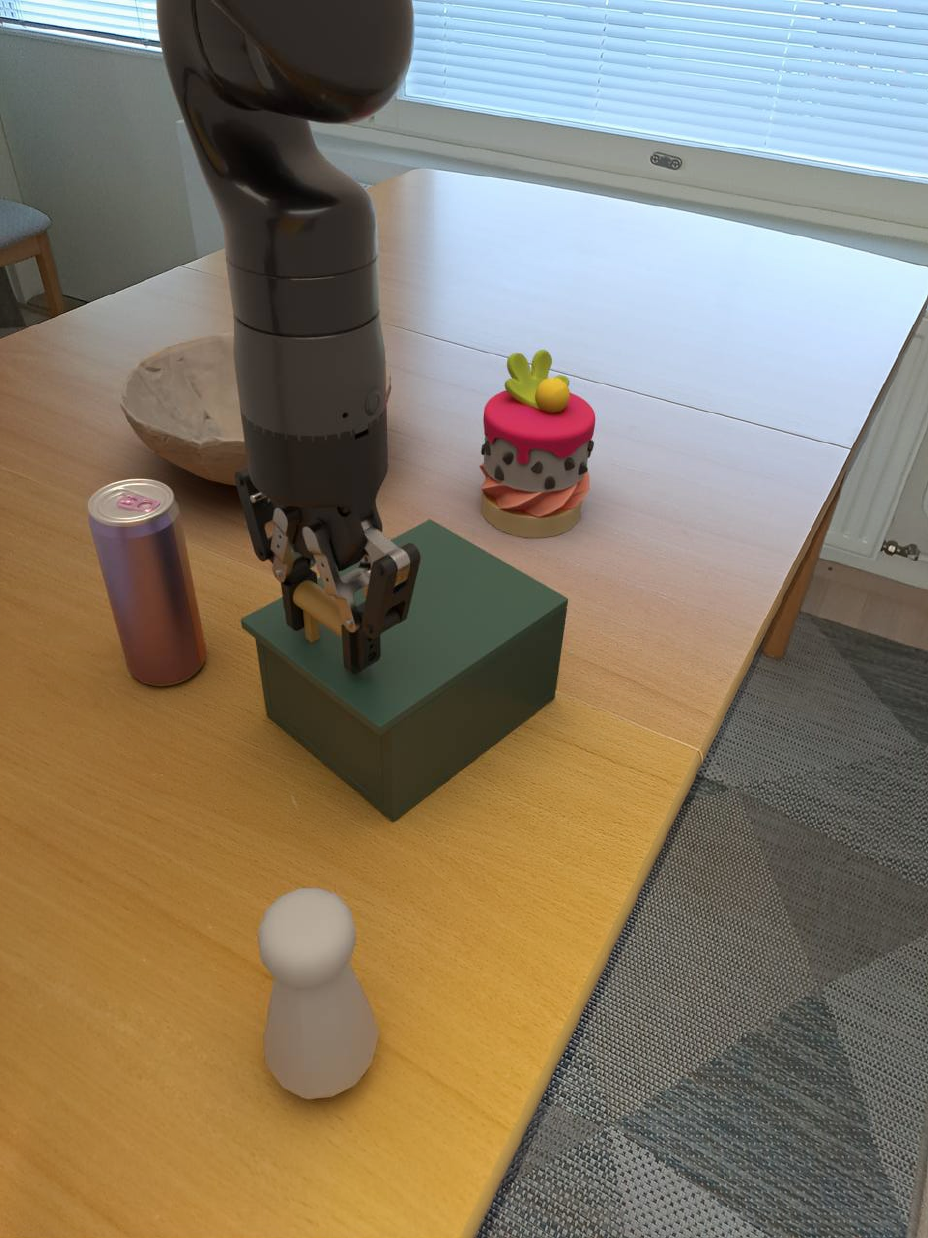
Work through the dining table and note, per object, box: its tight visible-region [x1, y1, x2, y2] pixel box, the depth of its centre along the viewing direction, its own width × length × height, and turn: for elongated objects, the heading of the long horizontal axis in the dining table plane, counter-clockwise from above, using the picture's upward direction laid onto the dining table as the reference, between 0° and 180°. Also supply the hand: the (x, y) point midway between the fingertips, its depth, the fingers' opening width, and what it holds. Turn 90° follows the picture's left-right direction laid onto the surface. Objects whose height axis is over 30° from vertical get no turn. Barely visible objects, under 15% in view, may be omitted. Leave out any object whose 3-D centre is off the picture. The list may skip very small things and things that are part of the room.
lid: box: [240, 518, 569, 736], centre depth 61 cm, size 18×14×5 cm
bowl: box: [118, 331, 392, 487], centre depth 92 cm, size 26×26×10 cm
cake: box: [479, 349, 596, 539], centre depth 85 cm, size 10×10×15 cm
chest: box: [254, 607, 568, 823], centre depth 66 cm, size 17×14×9 cm
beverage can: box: [87, 478, 207, 687], centre depth 66 cm, size 6×6×15 cm
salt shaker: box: [257, 887, 380, 1100], centre depth 44 cm, size 6×6×13 cm
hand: (332, 643), depth 58 cm, fingers closed on lid, 5 cm apart
